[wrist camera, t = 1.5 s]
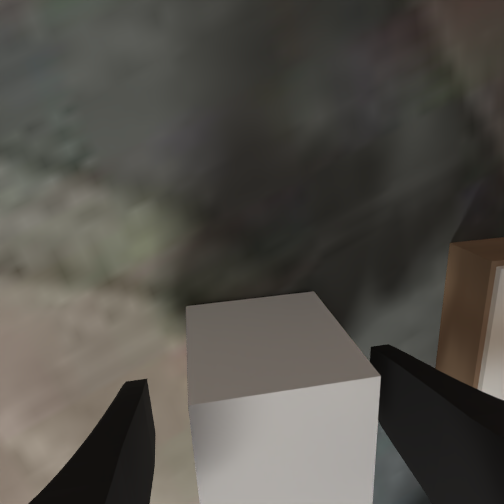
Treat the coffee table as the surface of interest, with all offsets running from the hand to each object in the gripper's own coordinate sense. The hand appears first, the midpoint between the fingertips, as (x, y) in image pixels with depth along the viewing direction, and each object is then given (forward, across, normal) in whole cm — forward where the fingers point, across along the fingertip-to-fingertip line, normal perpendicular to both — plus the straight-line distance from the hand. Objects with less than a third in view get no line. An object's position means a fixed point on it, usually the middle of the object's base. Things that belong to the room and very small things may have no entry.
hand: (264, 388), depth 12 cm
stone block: (+2, 0, 0) cm, 2 cm away
